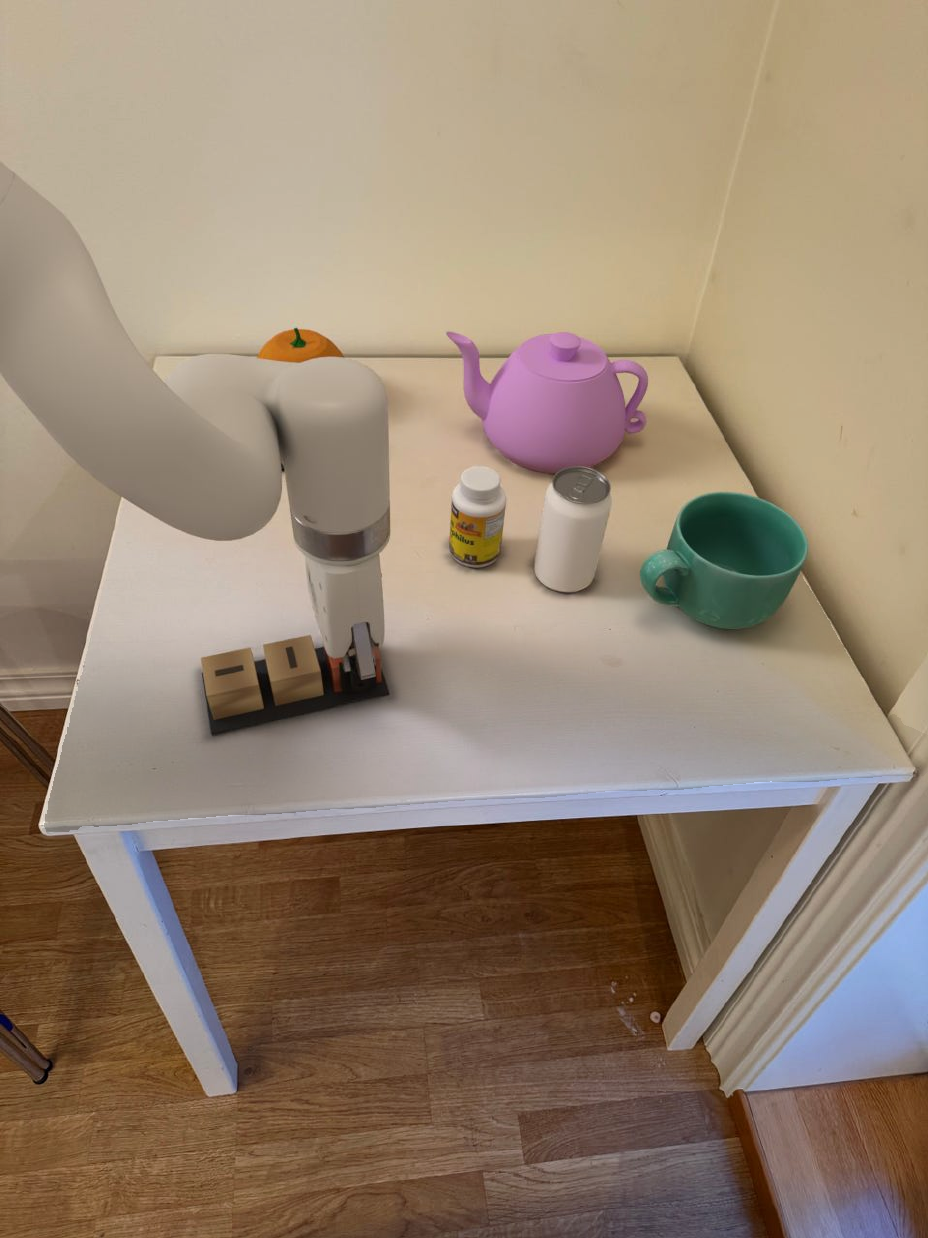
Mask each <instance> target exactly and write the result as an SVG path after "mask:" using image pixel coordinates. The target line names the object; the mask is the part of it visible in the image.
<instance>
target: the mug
mask: <svg viewBox="0 0 928 1238" xmlns="http://www.w3.org/2000/svg"><path fill="white" fill-rule="evenodd" d="M808 553H809V543H808V539H807V535H806V533H805V531H804V529H803V528H802V526H801V525H800V524H799V523H798V522H797V521H796V519H795V518H793V516H791V515H790V514H789V513H788V512H787V511H785V510H783V509H782V508H781V507H779V506H778V505H775V504H773V503H772V502H770V501H767V500H766V499H762V498H760V497H757V496H754V495H750V494H747V493H740V492H734V491H715V492H714V491H713V492H707V493H704V494H700V495H697V496H696V497H694V498H692V499H690V500H689V501H687V502H686V503H685V504H683V506H682V507H681V509H680V510H679V512H678V513H677V517H676V519H675V521H674V524H673V528H672V531H671V533H670V537H669V539H668V542H667V547H666V549H661V550H659V551H656V552H654V553H652V554H651V555H650V556H648V557H647V558H646V559H645V560H644V562H643V563H642V565H641V568H640V570H639V580H640V583H641V585H642V587H643V589H644V591H646V593H647V594H648V596H649V597H650V598H652V599H653V600H654V601H655V602H657V603H659V604H662V605H666V606H677V607H678V608H679V609H680V610H682V611H683V612H684V613H685V614H687V615H688V616H690V617H691V618H692V619H695V620H696V621H698V622H700V623H703V624H705V625H708V626H711V627H715V628H719V629H727V630H740V629H741V630H742V629H747V628H751V627H755V626H757V625H759V624H761V623H764V622H765V621H767V620H768V619H770V618H771V617H772V616H773V615H774V614H776V612H778V611H779V609H780V608H781V607H782V605H783V604H784V602H785V601H786V599H787V597H788V596H789V595H790V592H792V591H791V590H792V589H793V587H794V585H795V583H796V581H797V580H798V577H799V576H800V573H801V571H802V569H803V567H804V565H805V562H806V560H807V557H808ZM661 577H662V579H663V583H664V586H665V587H663V586H659V585H657V583H658V582H659V580H660V579H661Z"/></svg>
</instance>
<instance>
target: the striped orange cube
mask: <svg viewBox="0 0 928 1238" xmlns="http://www.w3.org/2000/svg"><path fill="white" fill-rule="evenodd" d="M322 647H324V644H323V645H322ZM348 652H349V656H354V655H355V649H349V650H348ZM374 652H375V658H376V674H377V683H379V682H381V669H382V658H381V654H380V652H379V649H378V648H377V647H374ZM324 654H325V660H326V663H327V667H328V670H329V674H330V677H331V681H332V684H333V688H334V691H335V692H340V691H342V689H341V681H340V670H339V663H340V662H342V657H341V658H336V659H333V658H331V657H330V656H329V655H328V654H327V653H326V650H325V647H324Z"/></svg>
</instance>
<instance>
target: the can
mask: <svg viewBox="0 0 928 1238" xmlns="http://www.w3.org/2000/svg"><path fill="white" fill-rule="evenodd" d="M611 487H612V486H611V483H610V481H609V479H608V478H607V476H605V475H604V474H603V473H601V472H600V471H598V470H596V469H593V468H592V467H590V468H588V467H582V466H572V467H567V468H564V469H562V470H560V471H558V472H557V473H556V474H553V477H552V481H551V482H550V484H549V485H548V487H547V489H546V492H545V495H544V496H545V497H544V502H543V506H542V507H543V509H542V514H541V521H540V526H539V531H538V539H537V545H536V550H535V557H534V565H533V571H534V575H535V576H536V578H537V579H538V581H539V582H540V583H541V584H542V585H543V586H545V587H546V588H548V589H550V590H552V591H554V592H555V591H556V592H560V593H568V594H569V593H577V592H579V591H582V590H584V589H586V588H587V587H589V586H590V585H591V584H592V582H593V580H594V579H595V575H596V572H597V571H596V570H597V567H598V563H599V559H600V556H601V551H602V547H603V543H604V539H605V534H606V530H607V526H608V521H609V518H610V512H611V509H612V504H613V503H612V501H613V499H612V495H611V494H612V493H611V491H612V490H611V489H612V488H611Z"/></svg>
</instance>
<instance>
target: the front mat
mask: <svg viewBox="0 0 928 1238" xmlns="http://www.w3.org/2000/svg"><path fill="white" fill-rule="evenodd" d="M314 648H315V647H314ZM315 651H316V655H317V659H318V662H319V666H320V670H321V676H322V684H323V692H324V695H322V696H318V697H313V698H309V699H304V700H300V701H296V702H291V703H287V704H282V705H278V706H275V702H274V698H273V693H272V689H271V684H270V680H269V675H268V671H267V666H266V661H265V658H264V659H260V660H254V663H255V668H256V672H257V677H258V682H259V687H260V691H261V696H262V701H263V706H264V709H260V710H256V711H252V712H247V713H243V714H238V715H234V716H230V717H225V718H221V719H216V720H214V719H213V716H212V712H211V709H210V706H209V702H208V699H207V695H206V689H205V683H204V676H203V671H202V672H201V677H202V685H203V690H204V696H205V703H206V704H205V705H206V710H207V715H208V716H207V717H208V722H209V728H210V735H211V736H216V735H221V734H225V733H230V732H235V731H238V730H242V729H246V728H251V727H255V726H261V725H264V724H268V723H269V724H270V723H272V722H277V721H282V720H286V719H290V718H294V717H299V716H303V715H309V714H311V713H316V712H321V711H325V710H329V709H333V708H338V707H342V706H346V705H351V704H356V703H360V702H364V701H367V700H372V699H377V698H382V697H386V696H389V695H390V690H389V687H388V683H387V680H386V678H385V674H384V671H383V669H382V668H381V682H379V683H377V685H376V686H375V687H374V688H370V689H367V690H365V691H361V692H352V693H348V694H344V693H343V692H342V691H340V692H335V691H334V688H333V684H332V681H331V677H330V674H329V670H328V667H327V663H326V660H325V654H324V646H321V647H316V648H315Z"/></svg>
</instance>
